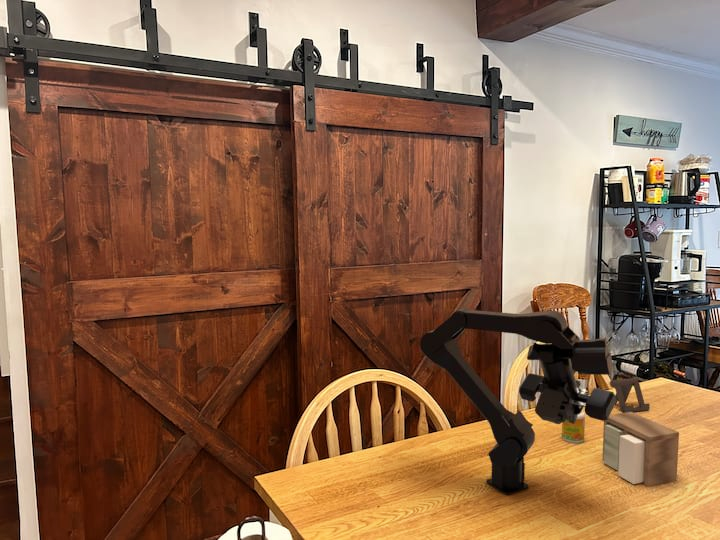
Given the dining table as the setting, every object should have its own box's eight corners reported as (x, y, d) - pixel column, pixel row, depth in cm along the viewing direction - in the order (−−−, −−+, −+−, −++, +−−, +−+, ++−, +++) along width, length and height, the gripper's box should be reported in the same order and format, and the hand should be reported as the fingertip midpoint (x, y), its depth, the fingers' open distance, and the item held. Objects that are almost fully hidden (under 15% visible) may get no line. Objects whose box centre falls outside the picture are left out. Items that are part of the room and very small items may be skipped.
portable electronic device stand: (624, 414, 154) (625, 386, 154) (605, 405, 162) (606, 378, 161) (649, 411, 157) (650, 383, 156) (629, 402, 164) (631, 376, 163)
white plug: (633, 484, 113) (635, 443, 112) (618, 475, 117) (619, 435, 116) (676, 475, 116) (678, 436, 116) (660, 467, 120) (662, 428, 120)
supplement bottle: (560, 441, 136) (561, 404, 135) (563, 433, 140) (564, 398, 140) (583, 445, 133) (584, 407, 132) (585, 437, 138) (586, 401, 137)
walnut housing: (644, 487, 112) (646, 437, 111) (599, 461, 124) (600, 416, 123) (676, 480, 115) (679, 432, 114) (629, 455, 127) (631, 411, 126)
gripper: (498, 388, 110) (517, 437, 117) (588, 411, 96) (603, 466, 103) (522, 351, 115) (539, 401, 122) (610, 369, 102) (623, 423, 109)
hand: (573, 422), depth 114 cm, fingers closed
